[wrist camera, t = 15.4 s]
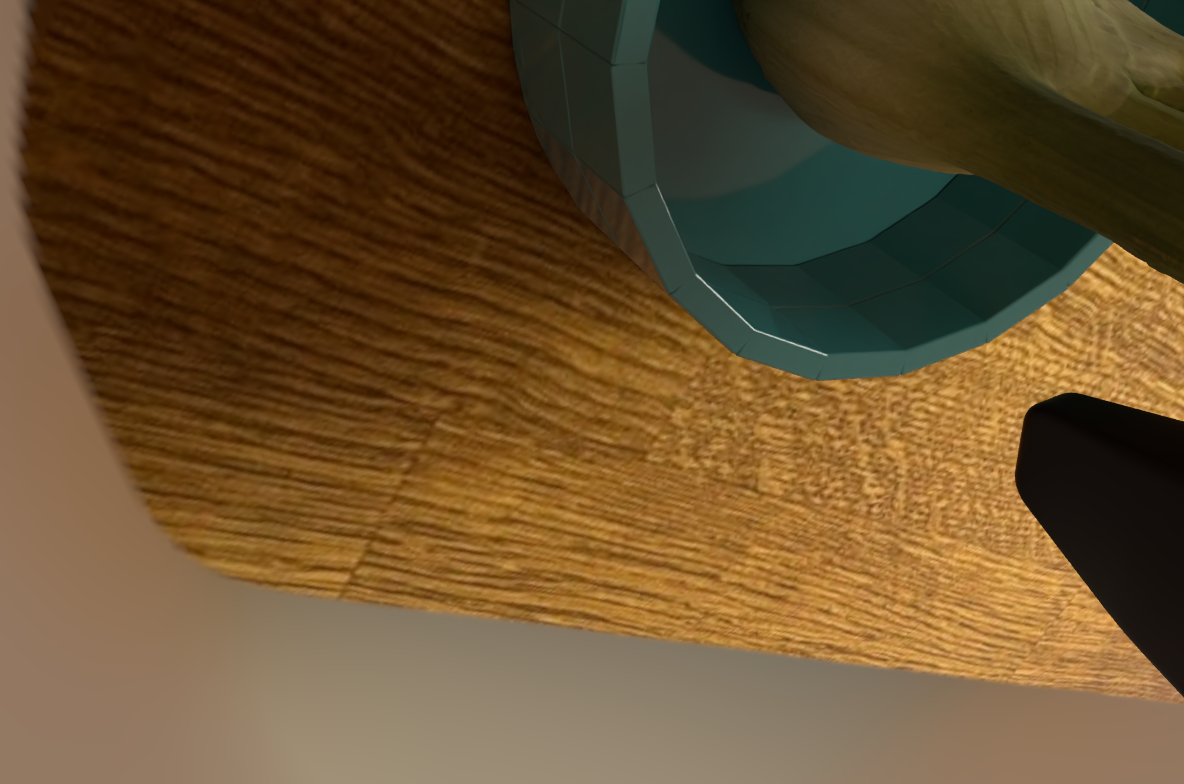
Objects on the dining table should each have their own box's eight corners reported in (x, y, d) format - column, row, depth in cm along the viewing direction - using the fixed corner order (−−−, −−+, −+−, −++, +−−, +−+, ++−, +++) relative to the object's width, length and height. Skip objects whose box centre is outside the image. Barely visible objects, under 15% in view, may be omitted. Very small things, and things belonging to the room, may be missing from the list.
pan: (557, 353, 24) (649, 471, 20) (446, -397, 16) (565, -412, 12) (1046, 190, 27) (1194, 267, 24) (1151, -488, 19) (1394, -519, 16)
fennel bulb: (650, 36, 20) (1180, 350, 11) (794, -230, 19) (1539, -122, 10) (854, 153, 24) (1390, 468, 14) (989, -65, 22) (1679, 131, 13)
